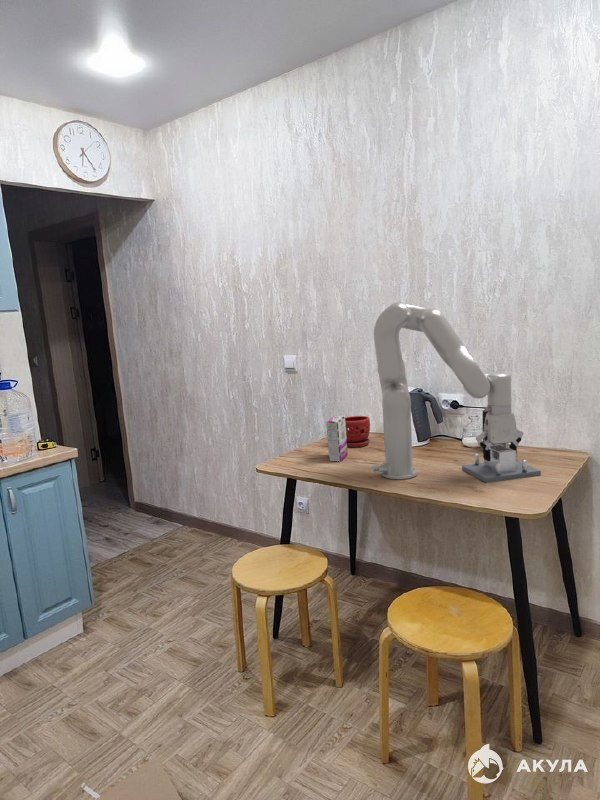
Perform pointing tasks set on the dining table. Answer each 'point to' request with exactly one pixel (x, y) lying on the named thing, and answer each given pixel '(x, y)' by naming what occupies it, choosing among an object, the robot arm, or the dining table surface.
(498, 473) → the guide pins
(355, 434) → the plant pot
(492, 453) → the block
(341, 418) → the candy bar box
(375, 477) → the dining table surface
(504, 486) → the dining table surface
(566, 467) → the dining table surface
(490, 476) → the pin board
